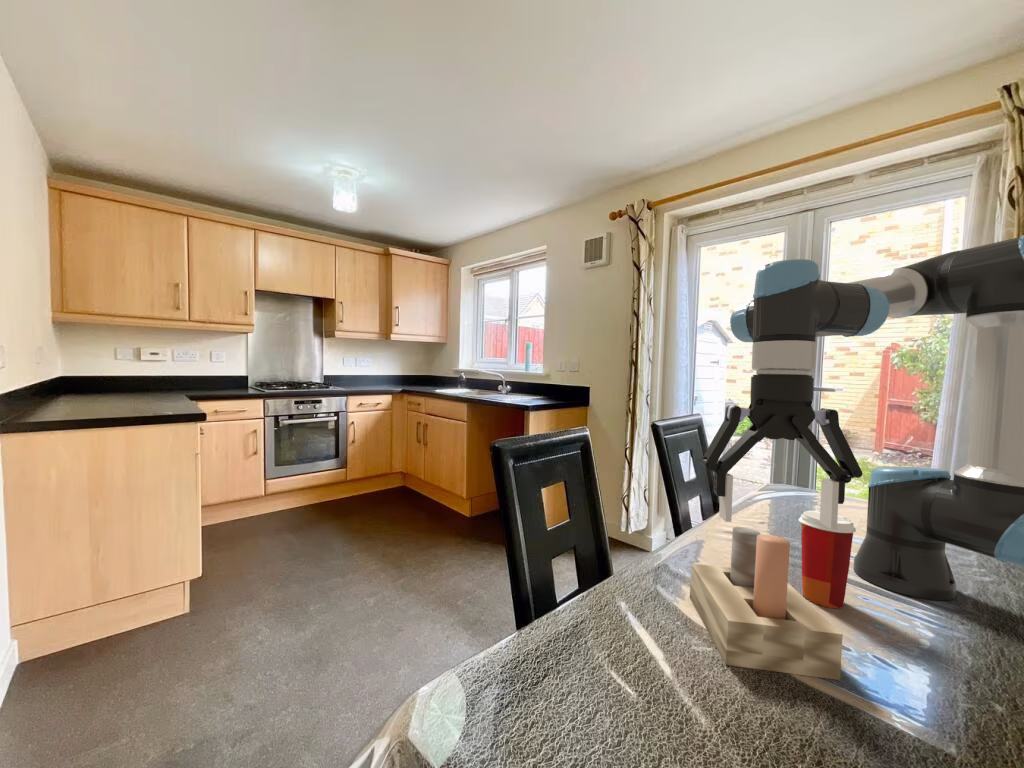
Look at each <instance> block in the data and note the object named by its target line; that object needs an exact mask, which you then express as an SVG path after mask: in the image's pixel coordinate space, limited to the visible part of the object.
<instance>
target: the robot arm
mask: <svg viewBox="0 0 1024 768" xmlns="http://www.w3.org/2000/svg"><path fill="white" fill-rule="evenodd" d="M820 277H821V275H820V274H819V264H817V262H815V261H814V260H812V259H804V258H803V259H802V258H795V259H794V258H793V259H791V258H790V259H784V260H778V261H774V262H773V261H772V262H769V263H767V264H764V265H762V266H761V267H760V268H758V270H757V272H756V275H755V281H754V282H755V284H754V290H753V291H754V292H753V296H752V299H753V300H750V301H747V302H743V303H741V304H739V305H738V306H736V307H735V308H734V310H733V311H732V313H731V315H730V320H729V323H730V326H729V327H730V329H731V330H730V331H731V333H732V334H733V336H734V338H736V339H737V340H739V341H741V342H742V343H752V349H751V350H752V353H751V370H752V371H755V374H752V376H751V377H750V397H749V398H750V404H749V406H748V407H747V408H746V407H740V406H738V405H732V404H729V405H727V406H726V409H725V415H724V420H723V421H722V424H721V425H720V427H719V429H718V430H717V432H716V434H715V435H714V436H713V439H712V441H711V442H710V443H709V445H708V447H707V449H706V451H705V452H704V454H703V456H702V458H701V459H700V465H702V466H703V467H704V468H706V469H707V470H708V471H709V470H710V471H712V472H713V486H712V487H713V488H712V489H713V493H714V494H715V495H716V496H717V497H719V510H718V511H719V512H718V513H719V515H718V516H720V518H721V519H722V520H723V521H724V522H726V523H732V514H733V512H732V511H733V509H732V508H733V489H734V488H733V486H734V485H733V484H734V476H733V475H732V474H730V473H729V472H730V471H731V470H732V469H733V467H735V465H736V464H738V463H739V461H741V460H742V458H744V456H745V455H747V454H748V453H749V451H750V450H751V449H753V447H754V446H756V444H758V442H761V441H762V440H764V438H766V439H769V440H779V439H785V440H788V441H796V440H797V441H798V442H799V443H800V444H801V445H802V446H803V448H805V450H806V451H807V452H808V454H809V455H810V456H811V457H812V458H813V459H814V460H815V462H816V463H817V464H818V465H819V467H821V469H822V470H823V471H824V473H826V475H827V476H828V477H821V483H820V485H821V486H820V505H819V506H820V508H819V509H820V510H819V511H820V523H821V524H823V525H825V526H826V527H828V528H830V529H835V530H837V518H838V515H839V505H843V504H844V503H845V493H846V484H849V483H850V482H852V479H853V478H857V479H858V478H862V476H863V471H862V469H861V466H860V465H859V462H858V461H857V459H856V457H855V455H854V452H853V451H852V449H851V446H850V445H849V443H848V440H847V438H846V436H845V435H844V433H843V430H842V429H841V427H840V422H839V421H840V420H839V419H840V417H839V412H838V411H837V410H836V409H832V408H820V409H817V410H814V409H813V402H814V392H815V391H814V390H815V389H814V388H815V387H814V386H815V378H814V377H813V375H810V372H813V371H815V367H816V366H815V364H816V362H815V361H816V338H820V337H829V336H831V337H834V336H843V337H844V338H845V337H846V338H850V337H863V336H867V335H870V334H873V333H874V332H877V330H879V329H880V328H881V327H882V326H883V325H884V324H885V322H886V320H887V318H892V319H902V318H908V317H912V316H914V317H915V316H935V315H937V316H939V315H957V314H966V315H965V316H966V317H965V321H966V322H968V323H969V324H970V325H971V326H973V327H975V329H976V330H977V331H976V332H977V333H976V346H975V356H974V357H975V359H974V371H973V373H974V374H973V385H972V396H971V397H972V398H971V399H972V400H971V413H970V423H969V424H970V425H969V437H968V449H967V450H968V452H967V460H966V462H967V463H966V464H965V465H964V466H962V467H960V468H958V469H957V470H955V471H954V473H953V479H952V475H951V474H950V471H948V470H946V469H941V468H934V467H933V468H931V467H917V466H890V465H888V466H877V467H874V468H873V469H872V470H871V471H870V476H869V482H868V485H867V488H868V492H867V493H868V496H867V497H868V498H867V515H866V516H867V517H866V533H865V536H864V539H863V540H862V543H861V544H860V547H859V549H858V551H857V553H856V555H855V556H854V559H853V568H852V569H853V571H854V573H855V574H856V575H858V576H859V577H860V578H862V579H864V580H865V581H866V582H869V583H871V584H874V585H876V586H878V587H880V588H884V589H886V590H889V591H892V592H896V593H899V594H903V595H906V596H911V597H915V598H920V599H925V600H931V601H949V600H950V601H951V600H954V599H955V598H957V597H956V596H957V583H956V580H955V577H954V574H953V572H952V571H953V570H952V569H951V566H950V563H949V560H948V557H947V555H946V544H948V545H951V546H954V547H958V548H960V549H964V550H968V551H970V552H974V553H977V554H979V555H983V556H985V557H990V558H993V559H996V560H997V561H999V562H1000V563H1005V564H1006V563H1009V564H1012V565H1017V566H1018V567H1019V566H1020V567H1023V568H1024V234H1023V235H1021V236H1019V237H1013V238H1009V239H1006V240H1001V241H997V242H996V241H995V242H993V243H987V244H983V245H979V246H974V247H969V248H965V249H962V250H961V249H960V250H955V251H950V252H946V253H943V254H939V255H937V256H934V257H930V258H928V259H927V258H926V259H924V260H921V261H919V262H915V263H912V264H908V265H905V266H901V267H897V268H892V269H890V270H887V271H885V272H883V273H882V274H881V275H879V276H877V277H872V278H868V279H867V278H865V279H862V280H856V281H851V282H846V283H845V282H835V281H825V280H822V279H820ZM746 417H747V418H748V419H749V421H750V422H751V425H750V426H749V427H748V428H746V430H744V433H743V435H741V436H740V438H738V439H737V440H736V441H735V443H733V445H732V446H730V448H729V449H728V450H727V451H725V449H726V448H727V446H728V444H729V442H730V441H731V439H732V437H733V435H734V434H735V432H736V431H737V429H738V426H739V425H740V423H741V422H743V421H744V420H745V418H746ZM814 420H815V421H816V422H815V423H816V424H817V425H819V427H820V429H821V431H822V434H823V436H824V437H825V439H826V441H827V444H828V445H829V447H830V450H831V451H832V454H833V456H834V458H835V459H834V458H833V457H832V455H831V454H830V453H829V452H828V451H827V450H826V448H825V447H824V446H823V444H821V443H820V441H819V440H818V438H817V436H816V435H815V433H814V432H812V431H813V430H811V429H810V428H809V427H810V425H811V424H812V423H813V422H814ZM724 451H725V453H724ZM836 461H837V462H836Z"/></svg>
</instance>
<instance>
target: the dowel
mask: <svg viewBox="0 0 1024 768" xmlns="http://www.w3.org/2000/svg"><path fill="white" fill-rule="evenodd" d="M790 547H791V542H790V541H789V540H787V539H786V538H784V537H780V536H776V535H773V534H766V533H764V534H763V533H762V534H761V533H760V535H757V545H756V562H755V580H754V597H753V611H754V613H755V614H756V615H757V616H758V617H765V618H773V619H782V620H785V618H786V602H787V585H788V583H789V581H788V579H789V567H790V565H789V564H790V552H791V551H790V550H791V549H790Z"/></svg>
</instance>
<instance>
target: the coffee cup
mask: <svg viewBox="0 0 1024 768" xmlns="http://www.w3.org/2000/svg"><path fill="white" fill-rule="evenodd" d="M798 522H800V525H801V526H800V528H801V529H800V532H801V534H800V535H801V536H800V537H801V541H800V542H801V552H800V553H801V593H802V597H804V598H805V599H806V600H807V601H808V602H809V603H812V604H815V605H818V606H821V607H824V608H828V609H842V608H843V606H844V603H845V597H846V589H847V583H848V578H849V577H848V576H849V570H850V562H851V555H852V545H853V537H854V533H856V532H857V530H856V527H854V522H853V521H852V520H850V519H849V518H848V517H846V516H843V515H840V514H838V518H837V530H835V529H830V528H828V527H826V526H825V525H823V524H821V523H820V510H805V511H803V513H802V514H800V517H799V518H798Z"/></svg>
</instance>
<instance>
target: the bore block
mask: <svg viewBox="0 0 1024 768" xmlns="http://www.w3.org/2000/svg"><path fill="white" fill-rule="evenodd" d="M760 534H761V532H760V531H758V530H755V529H753V528H749V527H744V526H743V527H742V526H736V527H733V528H732V536H731V537H732V538H731V555H730V567H727V566H717V565H708V564H698V563H691V565H690V567H691V568H690V584H689V585H690V586H689V598H690V601H691V603H692V605H693V606H694V608H695V610H696V612H697V614H698V616H699V617H700V619H701V621H702V623H703V625H704V626H705V629H706V631H707V632H708V634H709V636H710V638H711V640H712V642H713V644H714V645H715V648H716V649H717V651H718V652H719V655H720V657H721V658H722V661H723V662H724V664H725V666H733V667H740V668H748V669H755V670H761V671H762V670H764V671H770V672H778V673H786V674H791V675H799V676H805V677H806V676H808V677H813V678H814V677H815V678H821V679H827V680H828V679H830V680H837V681H840V680H841V673H842V672H841V669H842V666H841V665H842V654H843V653H842V651H843V633H842V632H841V631H840V630H838V629H837V628H836V627H835V625H833V624H832V623H831V622H830V621H829V620H828V619H827V618H826V617H825V616H824V615H823V614H822V613H820V612H819V610H817V609H816V608H815V607H814V605H812V604H811V602H810V601H809V600H807V599H806V598H805V597H804V596H803V595H802V594H801V593H799V591H797V590H796V589H795V588H794V587H793V586H792V585H791V584H790V583H789V582H788V585H787V602H786V618H785V620H782V619H773V618H765V617H758V616H757V615H756V614H755V613H754V611H753V597H754V580H755V562H756V545H757V535H760Z"/></svg>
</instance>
